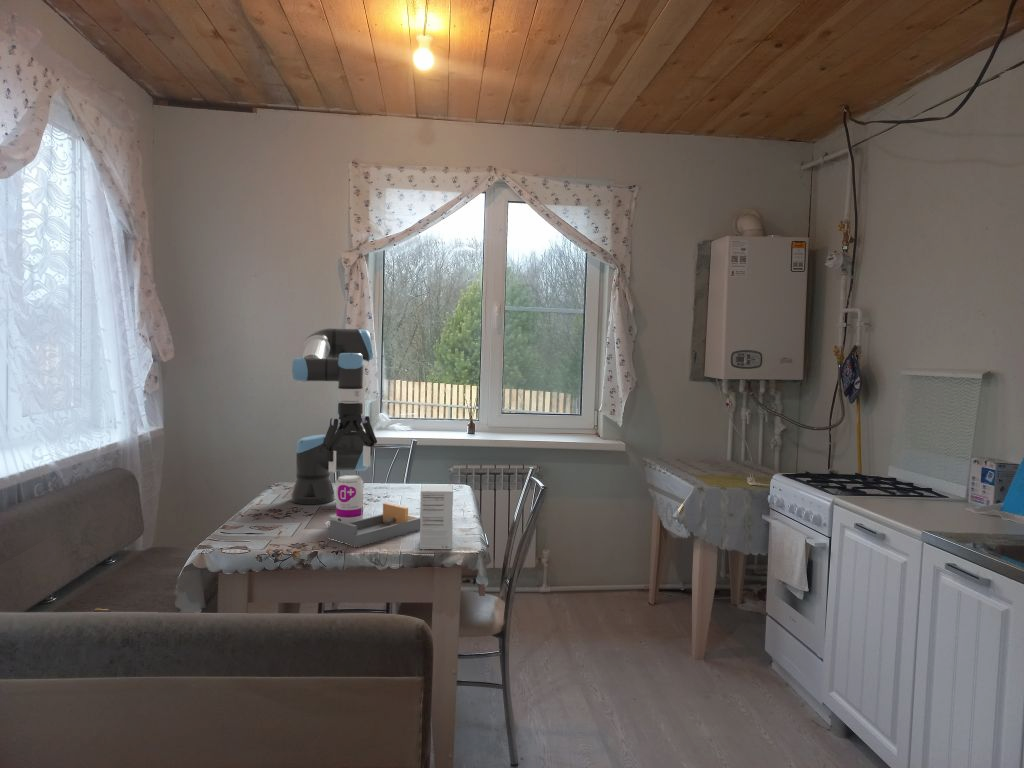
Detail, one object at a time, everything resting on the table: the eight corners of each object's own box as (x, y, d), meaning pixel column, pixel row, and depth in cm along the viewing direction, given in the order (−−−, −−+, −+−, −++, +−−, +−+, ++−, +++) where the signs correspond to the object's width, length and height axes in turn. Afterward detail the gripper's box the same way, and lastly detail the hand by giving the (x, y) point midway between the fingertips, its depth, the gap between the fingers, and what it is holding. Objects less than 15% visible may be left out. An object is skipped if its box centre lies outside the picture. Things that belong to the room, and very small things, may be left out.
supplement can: (356, 528, 212) (356, 480, 211) (331, 526, 213) (331, 478, 212) (366, 521, 220) (367, 475, 219) (343, 519, 221) (343, 474, 220)
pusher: (375, 524, 212) (375, 505, 212) (385, 521, 215) (385, 502, 215) (397, 530, 206) (398, 510, 206) (407, 527, 209) (408, 508, 209)
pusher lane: (328, 539, 199) (328, 519, 199) (394, 521, 220) (394, 503, 220) (356, 547, 192) (356, 526, 191) (421, 528, 212) (422, 510, 212)
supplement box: (420, 540, 201) (421, 483, 200) (452, 540, 202) (453, 483, 200) (419, 550, 191) (420, 490, 190) (452, 550, 192) (453, 490, 191)
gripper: (325, 405, 202) (324, 475, 203) (388, 400, 222) (387, 465, 223) (309, 403, 206) (309, 472, 208) (372, 399, 226) (372, 462, 227)
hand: (349, 469), depth 215 cm, fingers open, 13 cm apart
